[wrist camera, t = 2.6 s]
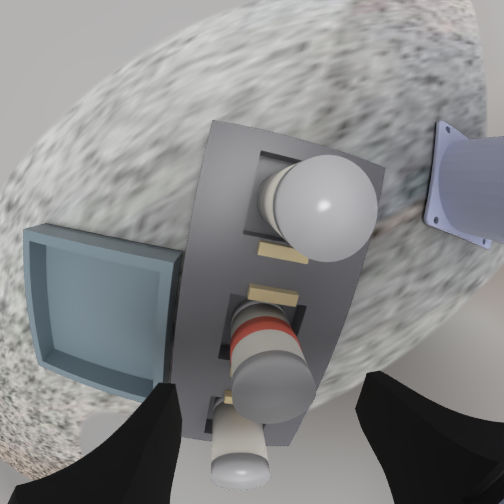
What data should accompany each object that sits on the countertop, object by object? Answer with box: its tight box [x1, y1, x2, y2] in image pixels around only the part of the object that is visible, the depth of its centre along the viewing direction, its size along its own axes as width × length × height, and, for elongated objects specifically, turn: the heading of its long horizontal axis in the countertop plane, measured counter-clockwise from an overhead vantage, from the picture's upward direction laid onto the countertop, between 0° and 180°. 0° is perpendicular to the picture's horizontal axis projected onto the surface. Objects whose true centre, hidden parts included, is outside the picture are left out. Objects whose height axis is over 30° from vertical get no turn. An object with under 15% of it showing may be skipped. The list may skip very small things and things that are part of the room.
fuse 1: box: [211, 397, 271, 490], centre depth 14 cm, size 3×3×6 cm
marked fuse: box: [230, 298, 316, 424], centre depth 12 cm, size 3×3×6 cm
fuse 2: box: [257, 155, 378, 262], centre depth 11 cm, size 3×3×6 cm
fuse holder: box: [171, 120, 385, 446], centre depth 15 cm, size 9×20×3 cm, turn 168°
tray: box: [23, 223, 182, 403], centre depth 14 cm, size 10×10×2 cm
